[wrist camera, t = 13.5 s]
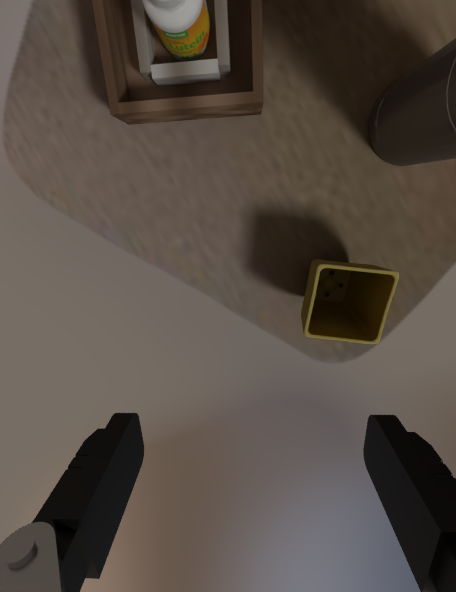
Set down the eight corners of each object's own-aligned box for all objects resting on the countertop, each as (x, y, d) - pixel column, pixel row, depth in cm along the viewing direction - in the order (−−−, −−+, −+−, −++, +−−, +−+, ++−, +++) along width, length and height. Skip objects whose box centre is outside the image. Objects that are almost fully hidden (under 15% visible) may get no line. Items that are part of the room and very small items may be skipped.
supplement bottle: (174, 71, 32) (146, 25, 23) (153, 15, 31) (114, -59, 22) (219, 48, 31) (208, -10, 22) (199, -12, 30) (179, -100, 21)
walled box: (258, -73, 29) (260, -124, 24) (261, 114, 34) (263, 102, 30) (101, -53, 30) (75, -98, 25) (128, 124, 35) (110, 114, 31)
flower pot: (303, 247, 39) (318, 263, 31) (368, 254, 39) (401, 272, 31) (291, 307, 42) (303, 336, 34) (352, 314, 42) (378, 345, 34)
